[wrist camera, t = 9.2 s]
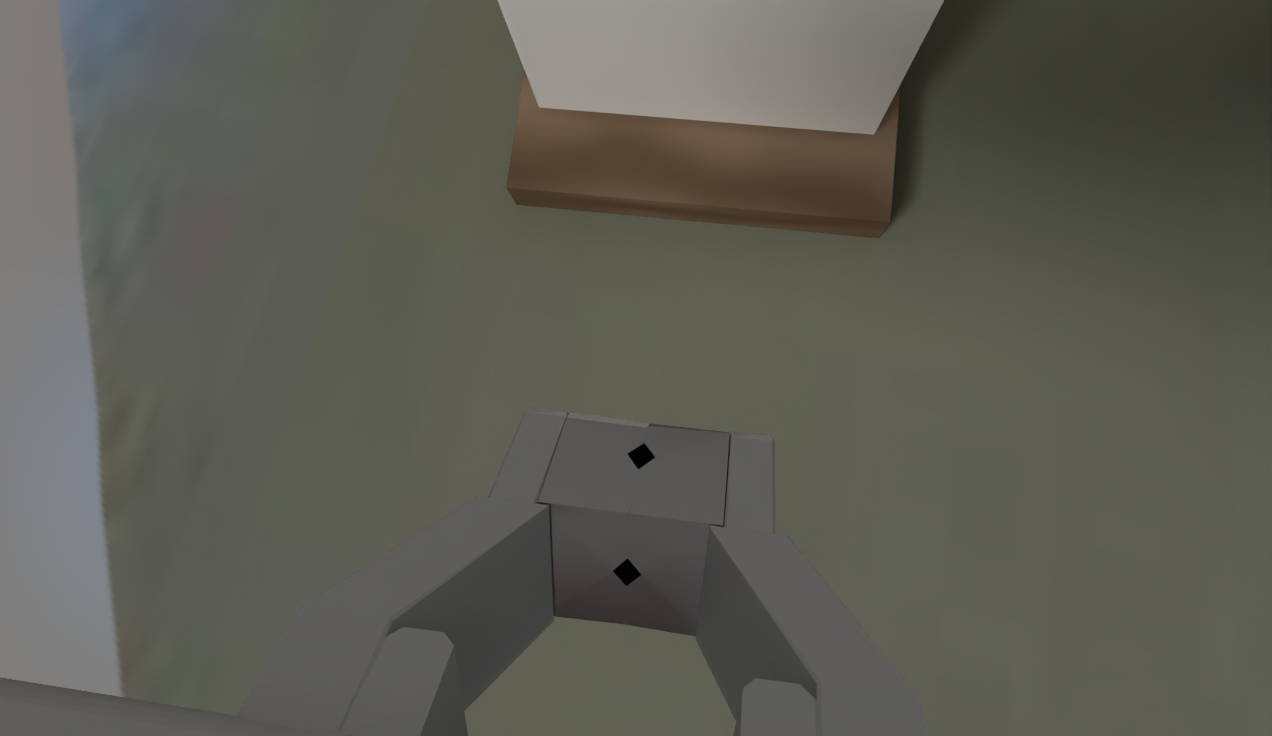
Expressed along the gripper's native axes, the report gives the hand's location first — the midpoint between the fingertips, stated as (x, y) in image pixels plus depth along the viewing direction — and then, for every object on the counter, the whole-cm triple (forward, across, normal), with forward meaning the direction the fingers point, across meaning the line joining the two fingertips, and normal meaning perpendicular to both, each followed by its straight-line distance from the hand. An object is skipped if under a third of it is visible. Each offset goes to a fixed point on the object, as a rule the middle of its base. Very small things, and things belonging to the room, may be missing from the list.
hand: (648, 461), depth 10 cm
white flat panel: (+26, +1, +3) cm, 26 cm away
